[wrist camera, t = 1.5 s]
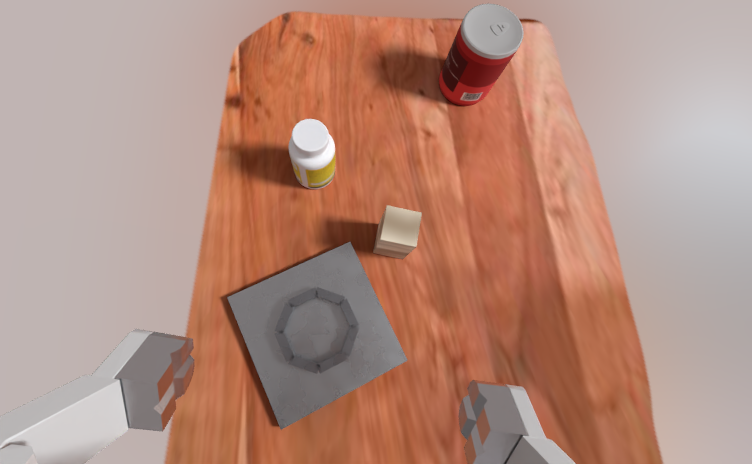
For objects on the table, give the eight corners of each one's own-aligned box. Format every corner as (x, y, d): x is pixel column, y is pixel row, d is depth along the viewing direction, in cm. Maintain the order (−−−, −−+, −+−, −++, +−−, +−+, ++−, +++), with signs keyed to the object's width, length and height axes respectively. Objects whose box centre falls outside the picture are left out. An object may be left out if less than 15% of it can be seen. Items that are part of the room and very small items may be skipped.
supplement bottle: (342, 164, 49) (344, 127, 40) (322, 197, 48) (320, 166, 39) (307, 146, 50) (301, 104, 40) (286, 178, 48) (275, 143, 39)
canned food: (497, 87, 55) (536, 31, 45) (464, 117, 53) (496, 67, 43) (461, 54, 56) (490, -9, 45) (427, 83, 54) (449, 25, 44)
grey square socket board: (405, 359, 44) (410, 361, 42) (282, 426, 41) (278, 433, 38) (349, 243, 47) (350, 238, 44) (229, 297, 44) (223, 296, 41)
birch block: (402, 259, 47) (416, 246, 40) (372, 252, 47) (380, 239, 39) (407, 230, 48) (421, 212, 41) (378, 223, 48) (387, 205, 40)
